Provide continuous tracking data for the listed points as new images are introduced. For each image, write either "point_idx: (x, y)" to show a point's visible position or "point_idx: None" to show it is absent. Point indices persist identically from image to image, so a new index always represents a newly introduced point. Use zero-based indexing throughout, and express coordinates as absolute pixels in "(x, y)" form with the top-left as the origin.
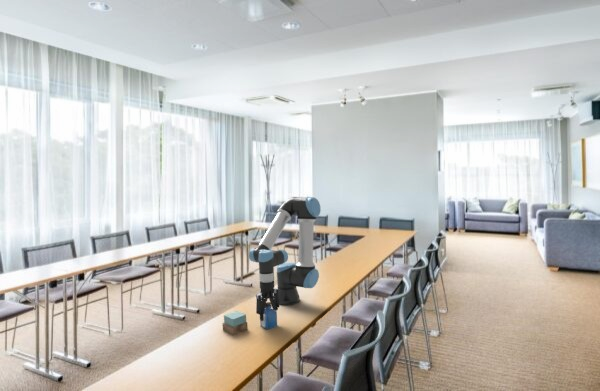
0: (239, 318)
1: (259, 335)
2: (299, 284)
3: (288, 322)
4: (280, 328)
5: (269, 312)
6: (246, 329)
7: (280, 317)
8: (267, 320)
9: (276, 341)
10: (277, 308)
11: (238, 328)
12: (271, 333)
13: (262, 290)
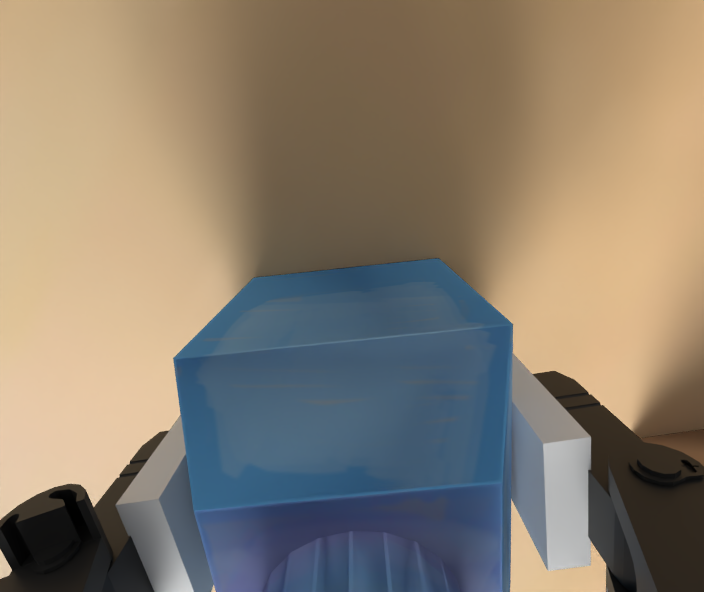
0: None
1: (658, 150)
2: None
3: (47, 271)
4: (258, 156)
5: (406, 437)
6: (649, 438)
7: (84, 482)
8: (478, 298)
9: None
10: (11, 537)
11: None
12: (478, 81)
13: None
